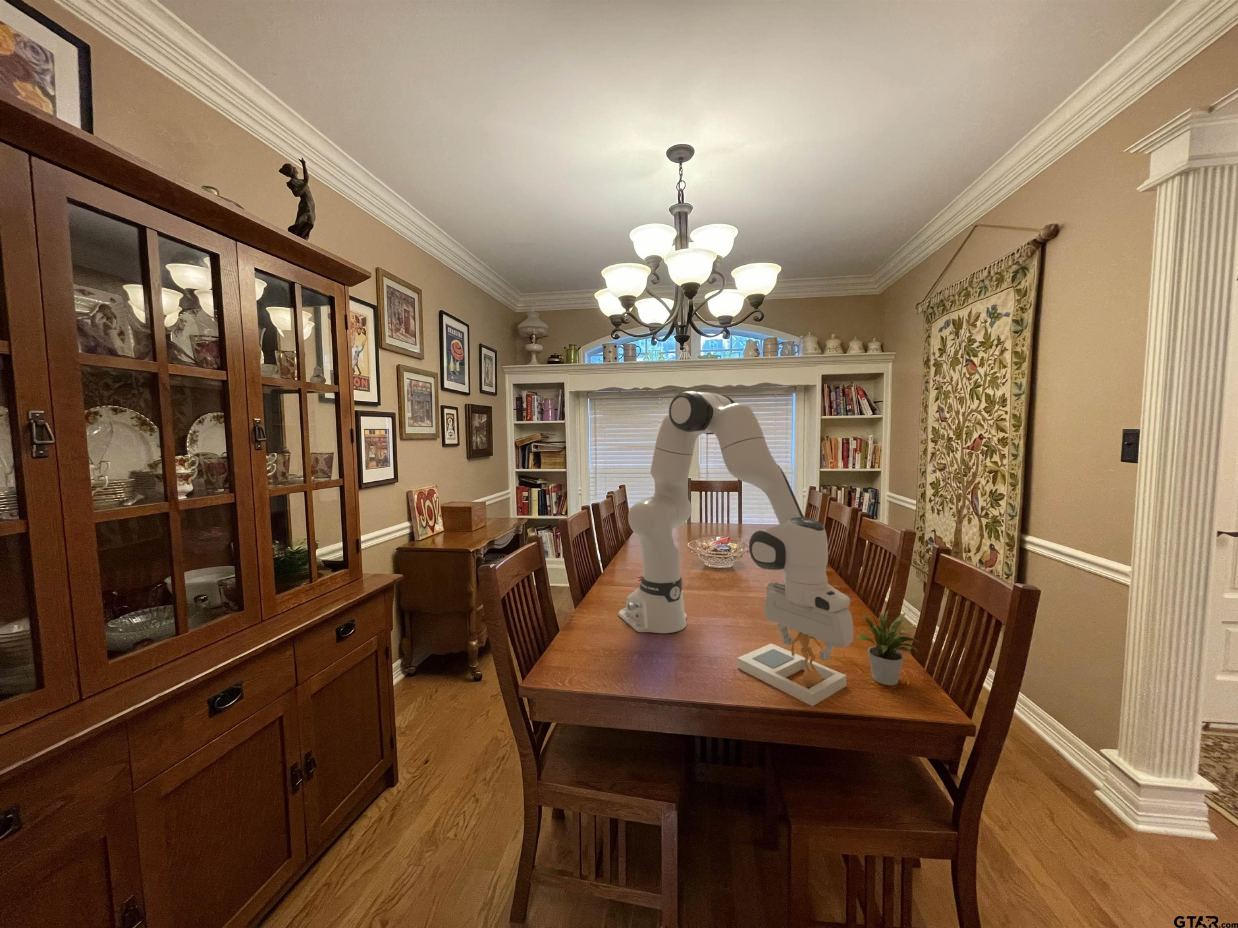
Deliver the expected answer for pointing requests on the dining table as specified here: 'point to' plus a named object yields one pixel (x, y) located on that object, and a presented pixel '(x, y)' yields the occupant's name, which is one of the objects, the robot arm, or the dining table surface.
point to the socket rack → (790, 673)
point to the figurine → (810, 675)
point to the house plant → (886, 649)
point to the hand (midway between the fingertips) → (805, 651)
